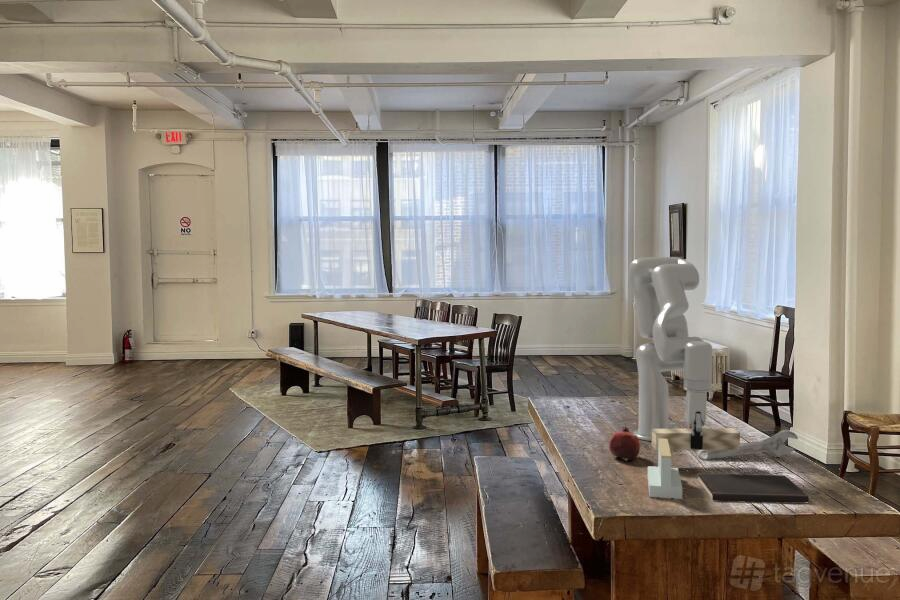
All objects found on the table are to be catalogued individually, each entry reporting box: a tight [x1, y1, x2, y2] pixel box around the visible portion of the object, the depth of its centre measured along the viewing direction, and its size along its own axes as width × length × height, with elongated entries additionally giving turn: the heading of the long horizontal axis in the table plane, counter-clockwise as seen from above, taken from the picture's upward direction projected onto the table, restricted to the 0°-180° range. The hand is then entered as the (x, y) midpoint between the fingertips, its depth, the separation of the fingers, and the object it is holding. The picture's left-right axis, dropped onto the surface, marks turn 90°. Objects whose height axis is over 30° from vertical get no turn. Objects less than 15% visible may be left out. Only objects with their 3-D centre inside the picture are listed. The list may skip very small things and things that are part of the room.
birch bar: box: [651, 427, 741, 451], centre depth 203 cm, size 24×4×5 cm, turn 89°
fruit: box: [608, 425, 641, 462], centre depth 211 cm, size 9×10×10 cm
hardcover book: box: [697, 472, 810, 503], centre depth 182 cm, size 16×23×2 cm
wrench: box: [697, 429, 799, 460], centre depth 210 cm, size 8×2×30 cm
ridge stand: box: [647, 438, 683, 500], centre depth 185 cm, size 16×8×11 cm, turn 166°
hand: (695, 445), depth 203 cm, fingers closed on birch bar, 5 cm apart
